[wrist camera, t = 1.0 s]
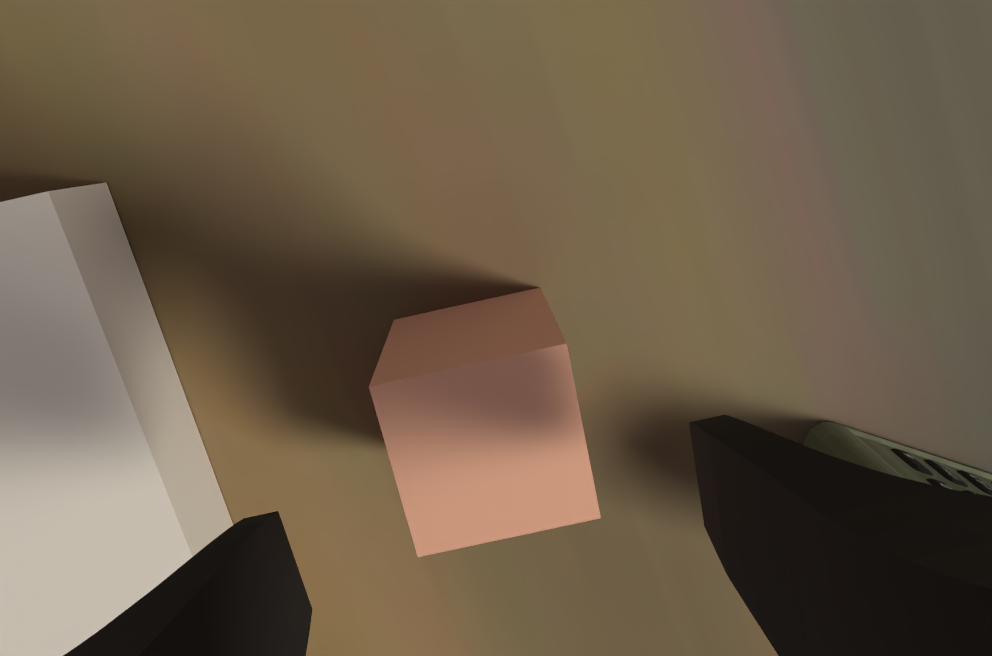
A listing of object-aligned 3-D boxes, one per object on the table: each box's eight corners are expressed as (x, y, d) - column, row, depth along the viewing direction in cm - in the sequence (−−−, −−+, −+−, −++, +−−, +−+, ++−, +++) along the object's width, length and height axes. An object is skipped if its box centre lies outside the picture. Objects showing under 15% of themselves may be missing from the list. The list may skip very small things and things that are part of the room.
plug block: (567, 422, 20) (601, 518, 15) (429, 452, 20) (417, 556, 15) (540, 287, 18) (566, 343, 14) (393, 319, 19) (368, 387, 14)
